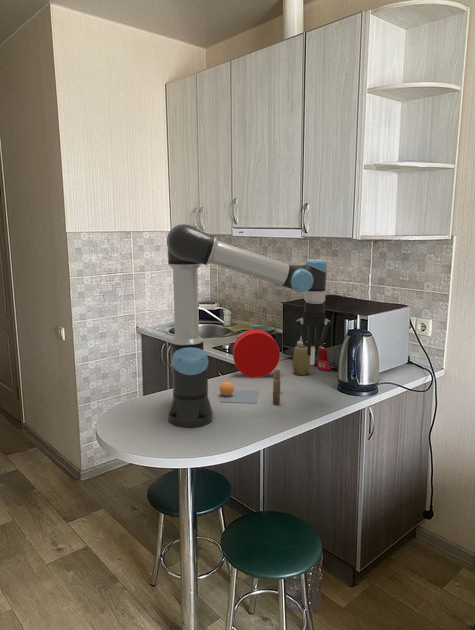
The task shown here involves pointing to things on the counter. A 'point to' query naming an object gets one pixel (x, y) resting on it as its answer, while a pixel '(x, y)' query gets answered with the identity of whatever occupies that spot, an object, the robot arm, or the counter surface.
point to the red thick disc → (256, 353)
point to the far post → (276, 374)
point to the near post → (276, 392)
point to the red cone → (323, 359)
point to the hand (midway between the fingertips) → (312, 363)
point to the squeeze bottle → (301, 359)
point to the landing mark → (241, 397)
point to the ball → (226, 388)
